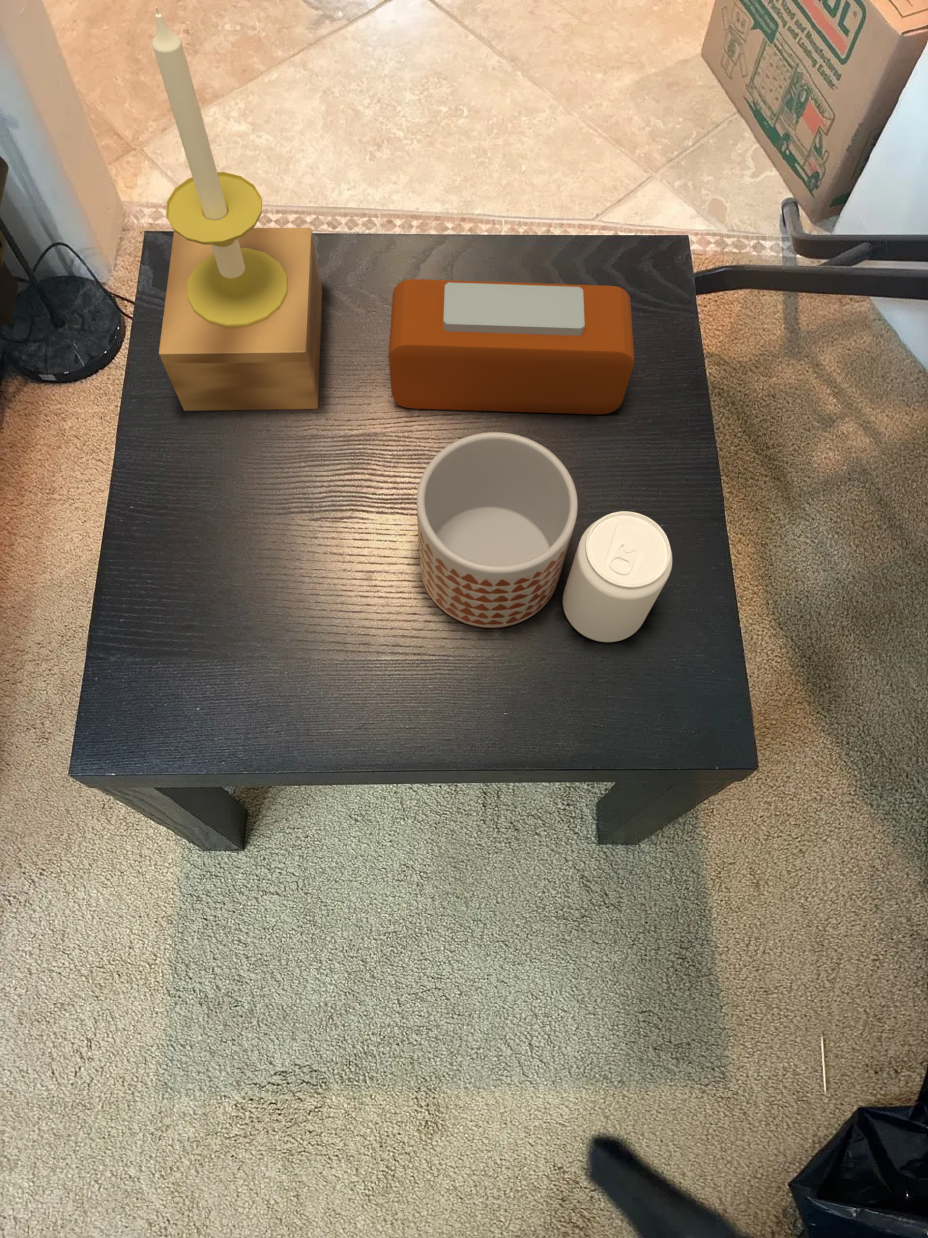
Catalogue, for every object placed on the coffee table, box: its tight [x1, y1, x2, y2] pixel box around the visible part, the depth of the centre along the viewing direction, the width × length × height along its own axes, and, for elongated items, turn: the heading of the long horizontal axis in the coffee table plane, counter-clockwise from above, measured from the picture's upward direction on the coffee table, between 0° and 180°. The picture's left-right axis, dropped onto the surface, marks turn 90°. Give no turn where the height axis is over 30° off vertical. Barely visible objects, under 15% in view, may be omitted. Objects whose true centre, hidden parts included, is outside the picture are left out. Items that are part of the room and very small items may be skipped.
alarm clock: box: [388, 278, 635, 415], centre depth 89 cm, size 24×8×11 cm, turn 89°
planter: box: [416, 431, 579, 629], centre depth 79 cm, size 14×14×13 cm
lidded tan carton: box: [158, 227, 323, 412], centre depth 90 cm, size 14×16×9 cm
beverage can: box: [562, 510, 673, 643], centre depth 78 cm, size 8×8×12 cm
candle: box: [151, 6, 288, 328], centre depth 74 cm, size 10×10×27 cm
